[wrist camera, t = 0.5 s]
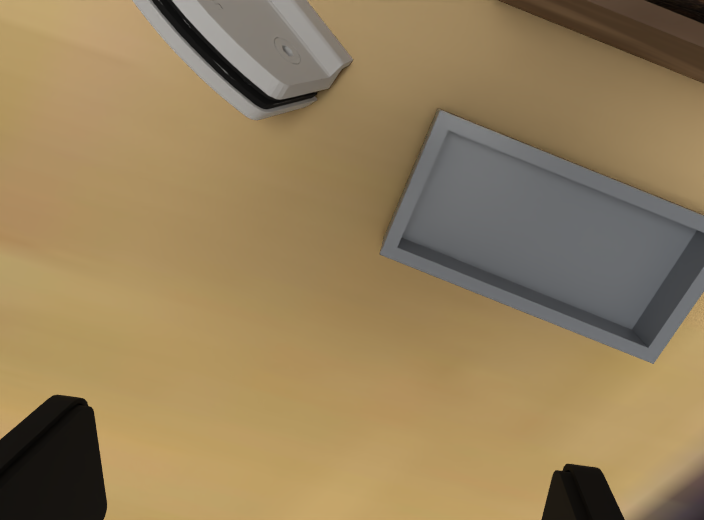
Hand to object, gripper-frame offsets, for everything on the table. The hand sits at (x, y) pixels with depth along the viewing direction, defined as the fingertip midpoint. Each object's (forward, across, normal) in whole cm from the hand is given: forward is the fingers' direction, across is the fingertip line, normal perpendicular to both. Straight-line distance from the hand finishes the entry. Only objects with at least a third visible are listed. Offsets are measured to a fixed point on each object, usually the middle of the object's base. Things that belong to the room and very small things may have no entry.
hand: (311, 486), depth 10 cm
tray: (+31, -12, +2) cm, 34 cm away
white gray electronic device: (+32, +12, -12) cm, 36 cm away
